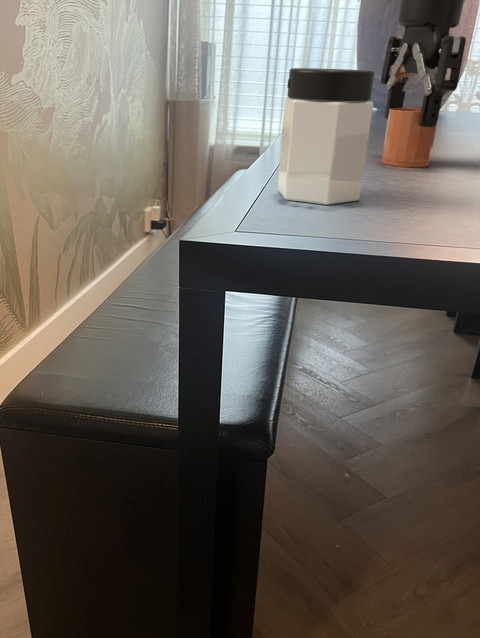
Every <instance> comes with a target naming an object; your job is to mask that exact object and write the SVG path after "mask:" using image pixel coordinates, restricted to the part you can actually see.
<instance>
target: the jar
mask: <svg viewBox="0 0 480 638" xmlns="http://www.w3.org/2000/svg"><path fill="white" fill-rule="evenodd" d="M374 77H375V71H373V70H367V69H346V68H345V69H344V68H316V67H315V68H313V67H311V68H310V67H293V68H290V69H289V73H288V79H287V96H285V98H284V107H283V121H282V131H281V143H280V144H281V145H280V154H279V155H280V157H279V168H278V181H277V190H278V192H279V193H280V194H281V196H282V197H283V198H284V199H285V201H286V200H287V201H294V202H301V203H302V202H303V203H311V204H318V205H326V206H329V205H336V204H342V203H343V204H344V203H351V202H357V201H359V200H360V199H361V192H362V186H363V179H364V171H365V164H366V157H367V152H368V144H369V138H370V132H371V131H370V130H371V124H372V118H373V110H374V101H371V99H372V91H373V85H374Z"/></svg>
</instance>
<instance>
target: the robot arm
mask: <svg viewBox="0 0 480 638" xmlns="http://www.w3.org/2000/svg"><path fill="white" fill-rule="evenodd" d="M464 2H465V0H400V6H399V10H398V18H397V24H398V25H399V26H401V27H404V32H403V36H401V35H390V36H389V37H388V41H387V45H386V51H385V55H384V62H383V66H382V72H381V77H380V83H381V84H382V85H385V86H386V89H387V90H388V94H387V98H386V99H387V100H386V105H385V110H384V111H385V112H384V119H385V120H388V116H389V110H390V109H391V108H404V103H405V96H406V88H407V86H408V84H409V83H410V81H411V80H412V79H414V78H415V77H416V76H418V78H419V79H420V80H421V81H423V88H424V92H425V93H424V95H423V98H422V104H421V108H420V109H421V113H420V118H419V126H422V127H434V126H435V125H436V122H437V123H438V121H437V120H439V116H440V111H441V106H442V102H443V98H444V96H446V95H447V93H449V92H455V91H456V90H457V88H458V85H459V80H460V73H461V68H462V65H463V64H462V63H463V59H464V52H465V48H466V43H467V38H466V36H460V35H450V31H451V29H454V28H456V27H458V26H459V24H460V21H461V16H462V11H463V7H464ZM448 69H449V70H450V74H449V79H446V76H447V75H448V73H449V70H448ZM391 72H392V73H391ZM390 73H391V74H390ZM434 81H435V82H434ZM404 90H405V91H404Z"/></svg>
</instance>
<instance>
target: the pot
mask: <svg viewBox="0 0 480 638" xmlns="http://www.w3.org/2000/svg"><path fill="white" fill-rule="evenodd" d="M420 113H421V108H416V107H403V108H391V109H390V110H389V116H388V119H387V123H386V127H385V135H384V141H383V146H382V147H383V148H382V154H381V163H382V164H383V165H386V166H392V167H401V168H427V167H428V166H429V165H430V161H431V157H432V151H433V146H434V141H435V136H436V132H437V126H438V120H439V119H438V120H437V122H436V125H435V126H434V127H422V126H419V118H420Z"/></svg>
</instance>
